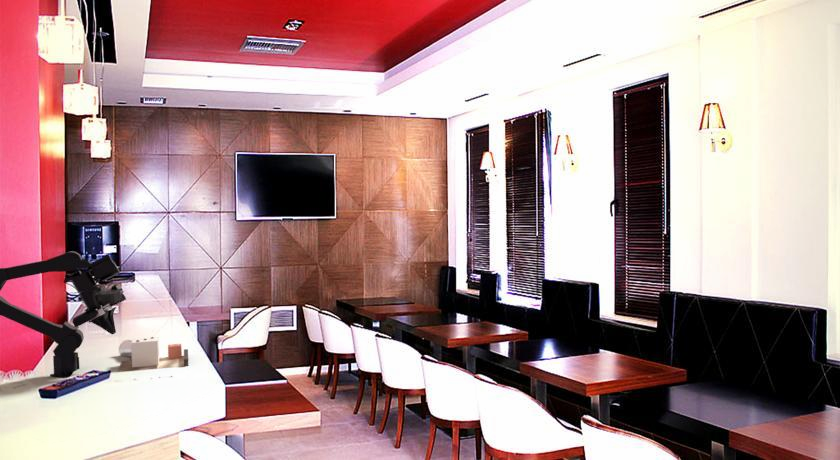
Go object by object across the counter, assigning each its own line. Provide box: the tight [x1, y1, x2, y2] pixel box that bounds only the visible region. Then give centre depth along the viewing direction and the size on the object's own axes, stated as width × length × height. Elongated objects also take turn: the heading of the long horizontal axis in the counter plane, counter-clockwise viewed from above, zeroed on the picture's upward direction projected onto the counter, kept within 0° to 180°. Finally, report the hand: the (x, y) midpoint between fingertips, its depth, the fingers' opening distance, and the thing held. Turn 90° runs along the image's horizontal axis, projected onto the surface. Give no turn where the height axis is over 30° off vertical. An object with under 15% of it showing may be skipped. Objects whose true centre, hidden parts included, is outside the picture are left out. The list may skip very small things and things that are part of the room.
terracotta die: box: [167, 343, 183, 359], centre depth 229 cm, size 4×4×4 cm
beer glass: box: [118, 339, 133, 358], centre depth 232 cm, size 7×7×15 cm
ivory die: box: [131, 336, 160, 367], centre depth 220 cm, size 8×8×8 cm
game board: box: [117, 348, 189, 373], centre depth 221 cm, size 20×18×3 cm
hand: (114, 333), depth 217 cm, fingers closed
